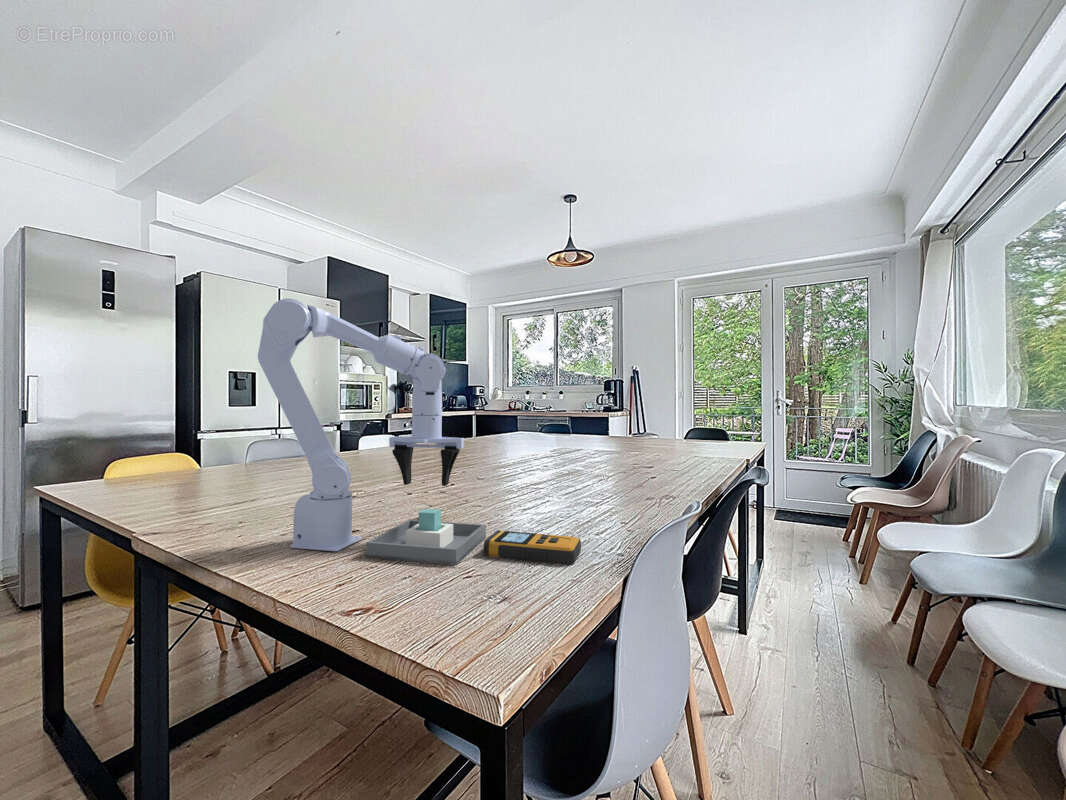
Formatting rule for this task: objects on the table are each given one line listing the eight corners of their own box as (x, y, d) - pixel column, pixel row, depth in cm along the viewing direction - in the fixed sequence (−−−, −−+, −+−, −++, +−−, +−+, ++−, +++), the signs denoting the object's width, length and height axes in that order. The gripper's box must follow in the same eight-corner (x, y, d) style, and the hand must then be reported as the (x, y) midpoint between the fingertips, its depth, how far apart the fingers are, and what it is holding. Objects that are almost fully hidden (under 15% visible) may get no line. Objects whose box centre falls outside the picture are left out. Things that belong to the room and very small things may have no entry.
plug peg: (418, 546, 87) (418, 512, 87) (425, 541, 90) (425, 508, 90) (434, 547, 86) (434, 513, 86) (440, 542, 89) (441, 509, 89)
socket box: (365, 557, 82) (366, 536, 82) (408, 532, 97) (409, 514, 97) (456, 565, 78) (456, 543, 78) (485, 537, 94) (485, 519, 94)
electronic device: (573, 570, 79) (573, 549, 79) (482, 559, 83) (483, 539, 83) (581, 553, 87) (582, 535, 87) (498, 544, 91) (499, 526, 91)
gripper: (382, 415, 92) (382, 486, 92) (457, 416, 90) (456, 489, 91) (397, 414, 99) (396, 480, 99) (467, 415, 97) (466, 482, 98)
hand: (426, 484), depth 95 cm, fingers open, 7 cm apart
